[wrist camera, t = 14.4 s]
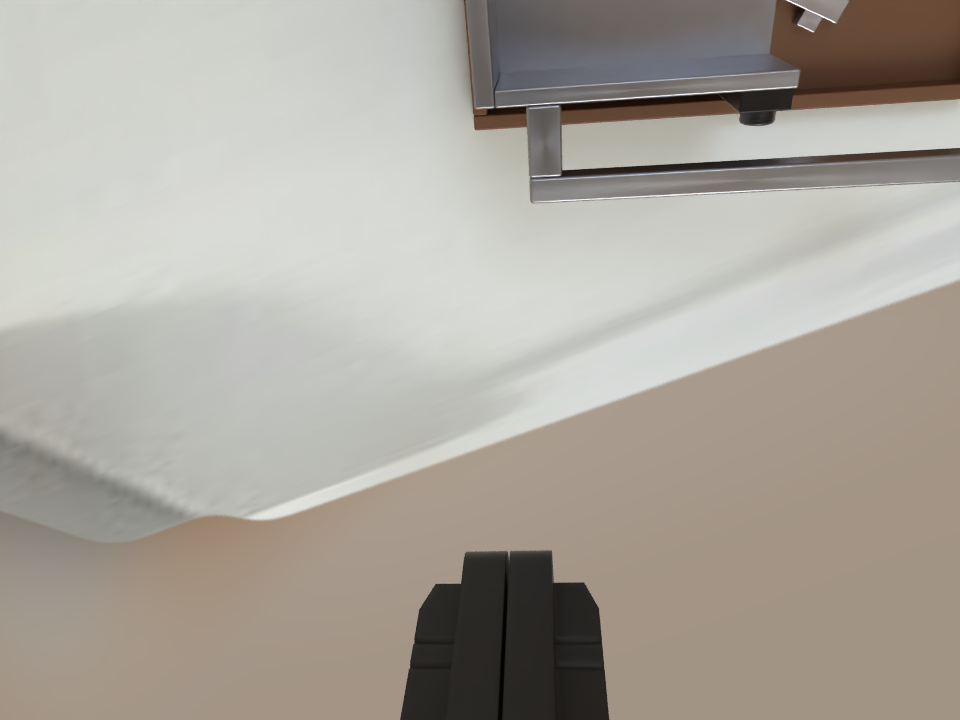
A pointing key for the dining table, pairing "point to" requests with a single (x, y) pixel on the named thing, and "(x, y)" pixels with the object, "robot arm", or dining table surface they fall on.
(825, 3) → the black key
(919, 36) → the tray
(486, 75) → the fryer basket
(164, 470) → the dining table surface
